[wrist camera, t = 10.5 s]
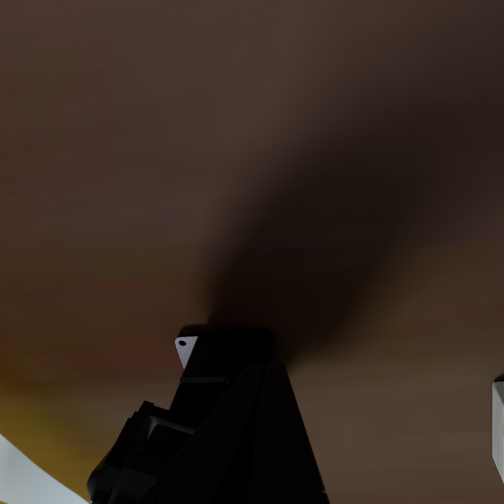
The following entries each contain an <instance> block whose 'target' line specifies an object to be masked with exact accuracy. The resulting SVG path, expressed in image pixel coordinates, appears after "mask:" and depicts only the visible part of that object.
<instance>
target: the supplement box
mask: <svg viewBox="0 0 504 504" xmlns="http://www.w3.org/2000/svg"><path fill="white" fill-rule="evenodd" d="M492 415H493V421H492V441H493V444H492V449H493V459H494V461H495V464H496V466H497V468H498V470H499V473H500V475H501V477H502V480H503V482H504V382H494V383H493V410H492Z"/></svg>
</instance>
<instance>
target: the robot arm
mask: <svg viewBox="0 0 504 504" xmlns="http://www.w3.org/2000/svg"><path fill="white" fill-rule="evenodd" d="M264 336H265V337H267V339H265V338H263V337H264ZM181 340H183V341H185V342H183V341H181ZM175 344H176V347H177V350H178V353H179V356H180V359H181V361H182V364H183V367H184V371H183V374H182V376H181V378H180V384H179V386H178V389H177V391H176V394H175V396H174V399H173V401H172V404H171V406H170V409H169V410H166V409H163V408H160V407H157V406H154V403H151V402H148V401H144V402H143V404H142V406H141V407H140V409H139V411H138V412H136V411H135V412H134V414H133V416H132V417H131V418H128V419H127V421H126V423H125V425H124V427H123V429H122V431H121V433H120V435H119V437H118V439H117V441H116V443H115V444H114V446H113V447H112V449H111V450H110V451H109V452H108V453H107V455H106V456H105V457H104V458H103V459H102V461H101V462H100V463H99V464H98V466H97V467H96V468H95V469H94V470H93V472H92V473H91V475H90V477H89V479H88V482H87V490H88V493H89V496H90V499H91V500H90V503H89V504H330V502H329V499H328V495H327V494H326V490H325V487H324V484H323V481H322V478H321V475H320V472H319V469H318V465H317V462H316V459H315V456H314V453H313V450H312V447H311V444H310V441H309V438H308V435H307V432H306V429H305V426H304V423H303V420H302V416H301V413H300V410H299V407H298V404H297V401H296V398H295V395H294V392H293V389H292V386H291V383H290V380H289V377H288V374H287V370H286V368H285V366H284V365H283V364H279V361H278V356H277V351H276V346H275V341H274V336H273V333H272V332H271V331H269V330H267V329H259V330H238V331H218V332H198V333H181V334H179V335H178V336H177V338H176V340H175Z"/></svg>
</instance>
